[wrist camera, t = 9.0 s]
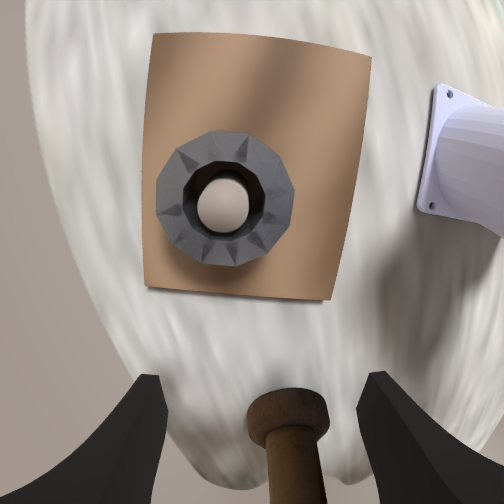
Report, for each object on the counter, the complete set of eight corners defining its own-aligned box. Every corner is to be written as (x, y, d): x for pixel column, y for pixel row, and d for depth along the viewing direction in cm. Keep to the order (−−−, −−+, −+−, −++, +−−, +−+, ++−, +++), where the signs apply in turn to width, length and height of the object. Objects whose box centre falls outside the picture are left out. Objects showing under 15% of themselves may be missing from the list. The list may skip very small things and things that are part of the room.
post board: (364, 59, 13) (403, 43, 9) (326, 292, 19) (346, 338, 15) (158, 38, 13) (129, 12, 9) (149, 277, 18) (125, 321, 14)
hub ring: (289, 136, 14) (301, 140, 11) (275, 239, 16) (282, 270, 13) (178, 127, 14) (158, 129, 11) (173, 230, 16) (156, 259, 13)
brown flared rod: (268, 437, 25) (278, 611, 9) (233, 402, 23) (230, 616, 7) (334, 415, 24) (374, 596, 8) (310, 375, 22) (354, 607, 6)
